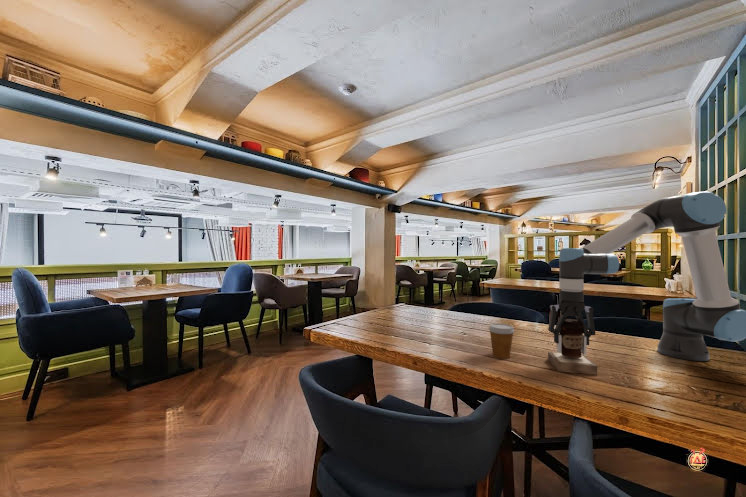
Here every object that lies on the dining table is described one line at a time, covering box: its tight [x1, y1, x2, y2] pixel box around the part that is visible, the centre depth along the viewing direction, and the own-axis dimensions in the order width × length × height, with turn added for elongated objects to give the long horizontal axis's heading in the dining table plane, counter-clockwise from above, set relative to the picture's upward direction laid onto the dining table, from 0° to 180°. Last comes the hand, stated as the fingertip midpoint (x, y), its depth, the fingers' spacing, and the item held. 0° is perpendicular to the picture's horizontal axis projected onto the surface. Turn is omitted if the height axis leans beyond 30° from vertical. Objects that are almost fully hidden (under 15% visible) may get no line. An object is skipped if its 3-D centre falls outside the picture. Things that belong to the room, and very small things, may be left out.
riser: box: [547, 351, 598, 376], centre depth 115 cm, size 12×12×3 cm
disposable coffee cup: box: [488, 323, 515, 360], centre depth 126 cm, size 10×10×12 cm
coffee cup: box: [559, 318, 584, 358], centre depth 115 cm, size 9×8×13 cm
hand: (571, 352), depth 115 cm, fingers closed on coffee cup, 7 cm apart
